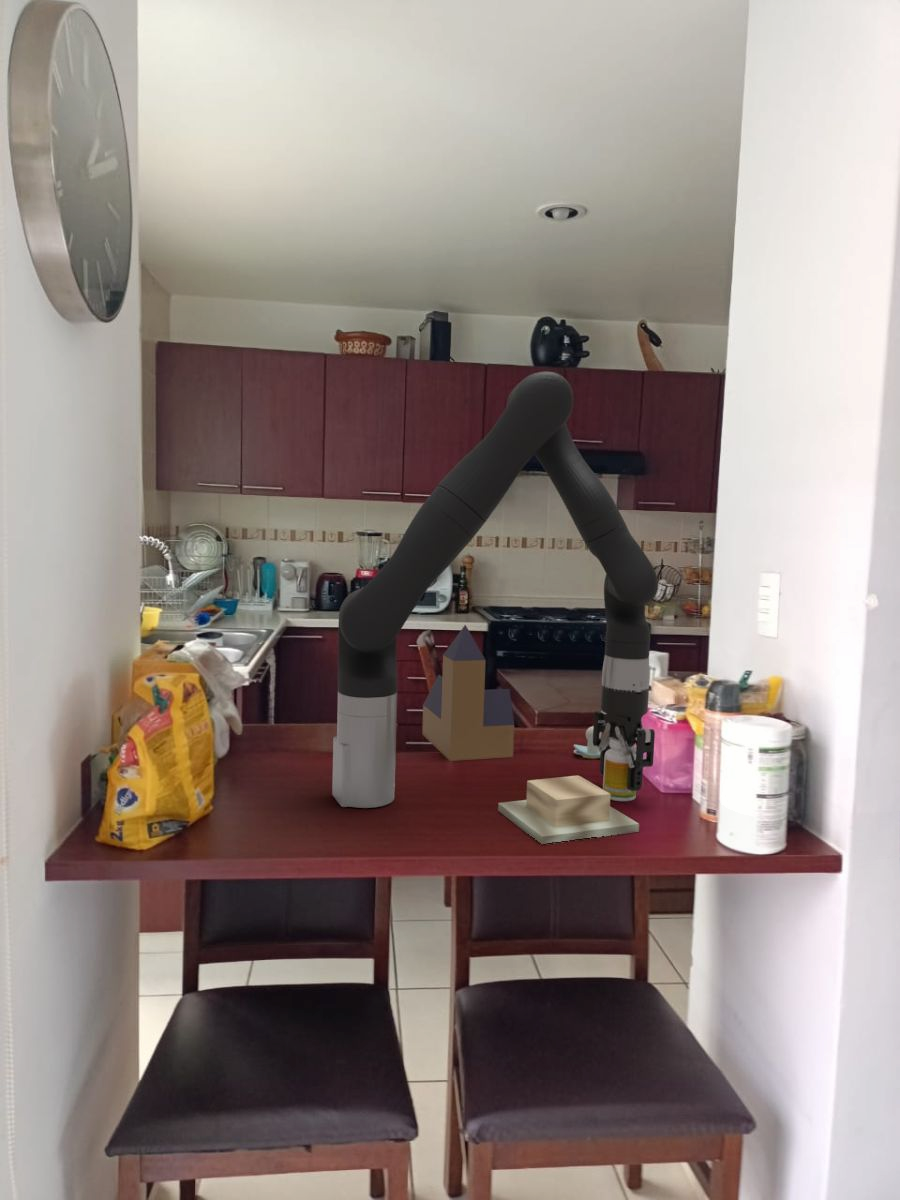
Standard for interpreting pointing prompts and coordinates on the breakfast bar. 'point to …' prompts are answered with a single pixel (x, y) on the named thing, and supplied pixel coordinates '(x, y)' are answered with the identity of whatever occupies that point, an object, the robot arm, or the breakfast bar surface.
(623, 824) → the pedestal base
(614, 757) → the supplement bottle
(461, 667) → the toy building blocks
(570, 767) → the breakfast bar surface
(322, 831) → the breakfast bar surface
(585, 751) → the pacifier
